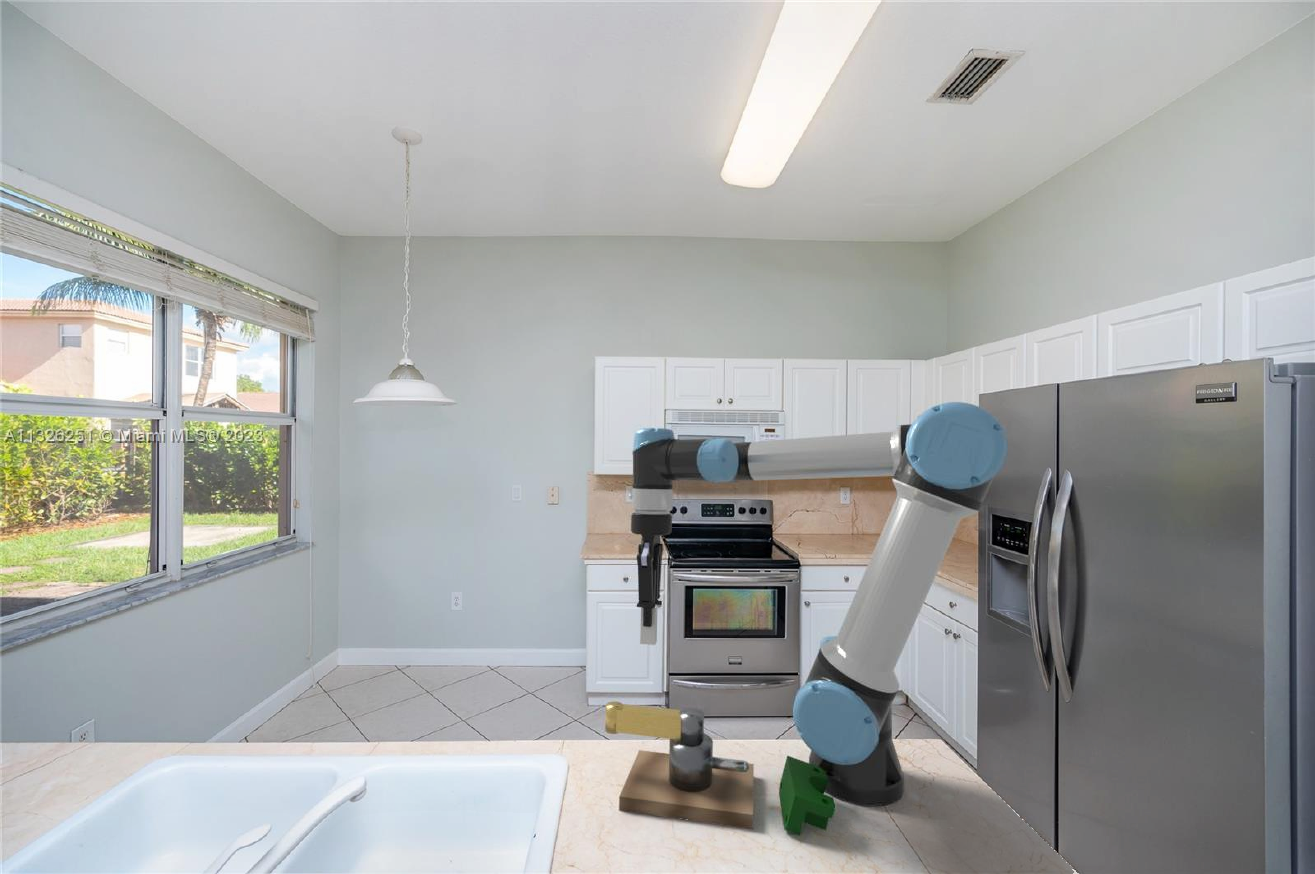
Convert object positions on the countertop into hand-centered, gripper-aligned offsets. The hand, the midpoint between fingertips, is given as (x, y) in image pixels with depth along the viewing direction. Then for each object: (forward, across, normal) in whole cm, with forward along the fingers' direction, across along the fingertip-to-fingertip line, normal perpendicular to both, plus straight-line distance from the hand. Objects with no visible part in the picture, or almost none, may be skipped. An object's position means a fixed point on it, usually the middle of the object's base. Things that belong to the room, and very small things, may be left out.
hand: (648, 642), depth 97 cm
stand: (+20, +8, +9) cm, 24 cm away
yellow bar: (+12, +8, +3) cm, 15 cm away
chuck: (+18, +8, +12) cm, 23 cm away
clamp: (+21, +10, +27) cm, 35 cm away
